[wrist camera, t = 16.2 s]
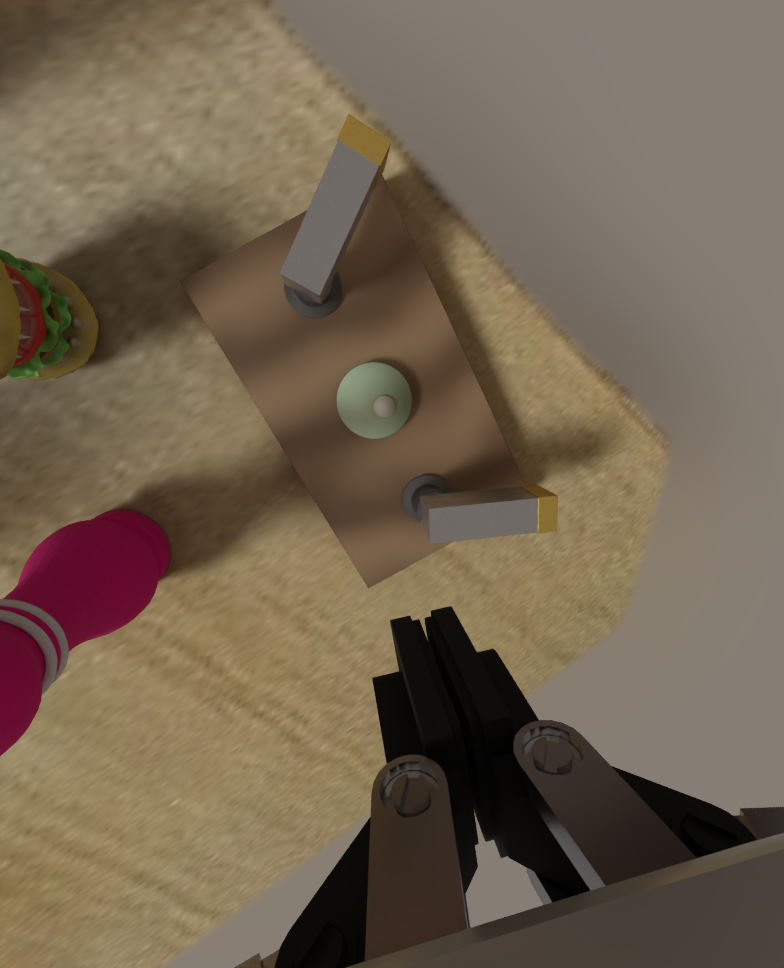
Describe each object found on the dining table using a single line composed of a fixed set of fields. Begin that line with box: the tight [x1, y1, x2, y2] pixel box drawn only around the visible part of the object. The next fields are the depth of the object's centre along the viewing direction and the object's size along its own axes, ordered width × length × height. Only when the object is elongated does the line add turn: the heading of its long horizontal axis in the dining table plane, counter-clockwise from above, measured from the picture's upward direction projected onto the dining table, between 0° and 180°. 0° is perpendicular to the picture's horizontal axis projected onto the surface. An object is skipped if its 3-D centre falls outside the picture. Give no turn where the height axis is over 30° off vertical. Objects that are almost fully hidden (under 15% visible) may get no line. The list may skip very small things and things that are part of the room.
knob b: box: [411, 484, 558, 544], centre depth 30 cm, size 8×2×6 cm, turn 94°
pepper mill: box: [0, 510, 171, 756], centre depth 23 cm, size 7×7×20 cm
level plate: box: [180, 176, 525, 588], centre depth 31 cm, size 24×14×3 cm, turn 28°
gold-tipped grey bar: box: [280, 114, 391, 307], centre depth 25 cm, size 8×2×6 cm, turn 153°
